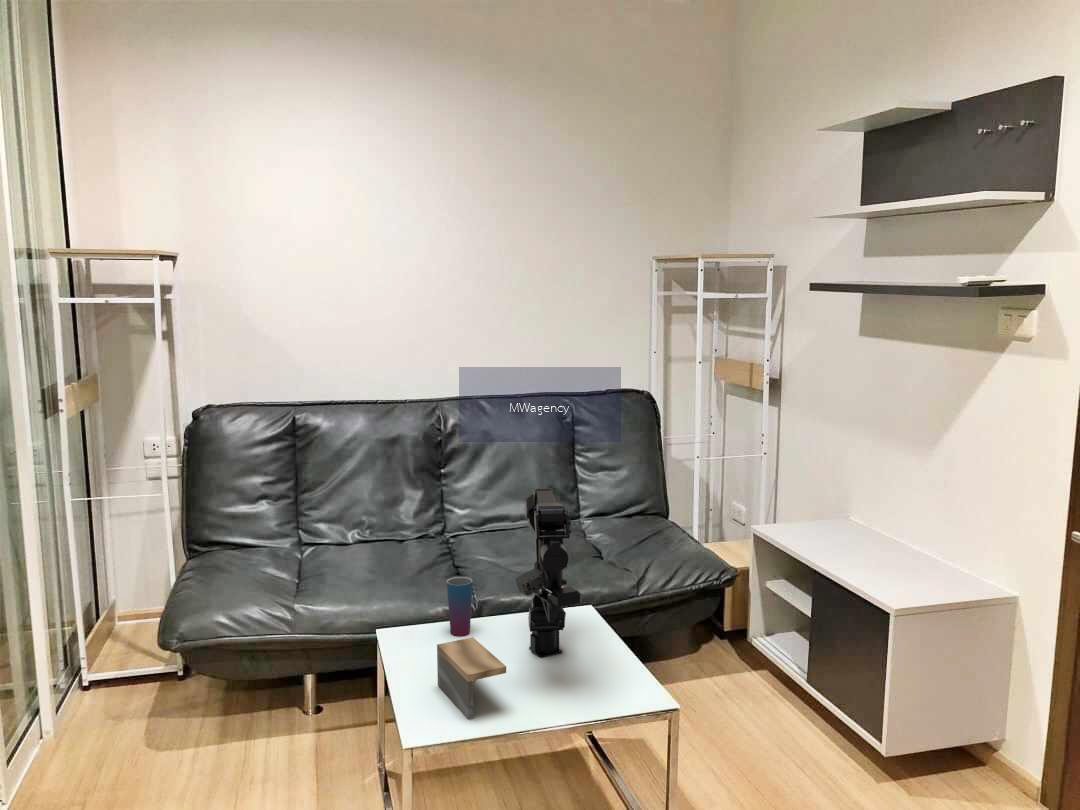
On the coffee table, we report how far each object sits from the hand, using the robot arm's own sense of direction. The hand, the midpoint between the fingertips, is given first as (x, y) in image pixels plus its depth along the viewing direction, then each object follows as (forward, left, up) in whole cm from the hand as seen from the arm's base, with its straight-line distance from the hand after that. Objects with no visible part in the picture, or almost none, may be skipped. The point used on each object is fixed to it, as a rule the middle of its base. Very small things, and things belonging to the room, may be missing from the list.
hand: (550, 622), depth 202 cm
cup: (+10, -32, -13) cm, 36 cm away
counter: (+21, +2, -13) cm, 25 cm away
